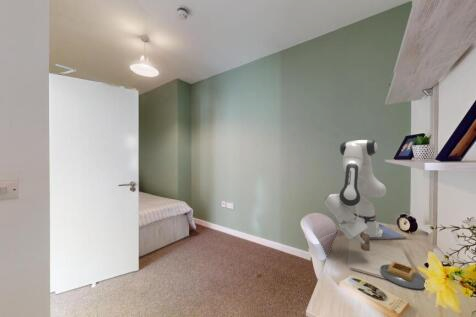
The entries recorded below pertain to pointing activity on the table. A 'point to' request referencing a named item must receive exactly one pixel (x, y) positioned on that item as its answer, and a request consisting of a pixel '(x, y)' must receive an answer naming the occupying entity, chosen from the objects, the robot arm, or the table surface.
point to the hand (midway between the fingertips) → (366, 241)
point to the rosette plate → (403, 276)
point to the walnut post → (367, 244)
